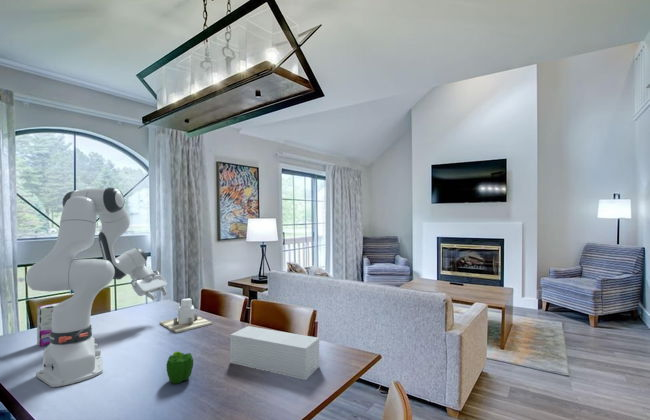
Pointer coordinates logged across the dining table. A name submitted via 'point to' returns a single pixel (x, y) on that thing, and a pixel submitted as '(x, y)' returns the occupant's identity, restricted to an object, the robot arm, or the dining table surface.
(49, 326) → the candy bar box
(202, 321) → the stub cradle
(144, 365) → the dining table surface
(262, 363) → the stack of papers
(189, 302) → the medicine bottle
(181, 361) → the bell pepper
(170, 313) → the dining table surface
